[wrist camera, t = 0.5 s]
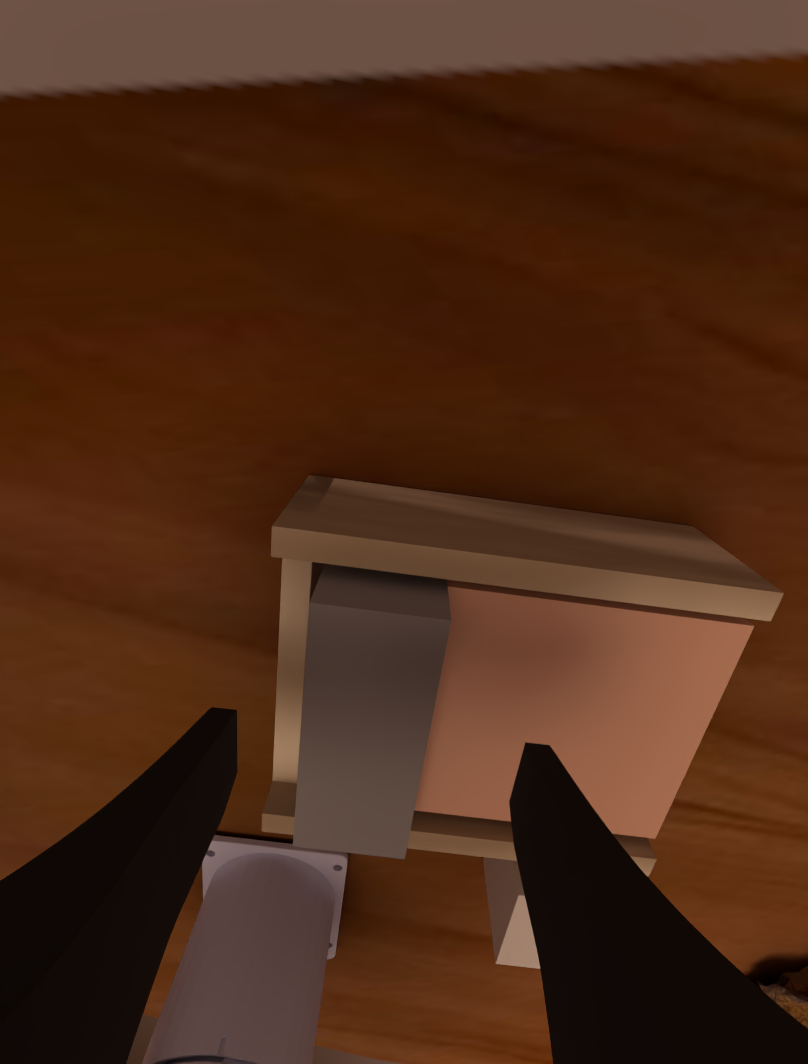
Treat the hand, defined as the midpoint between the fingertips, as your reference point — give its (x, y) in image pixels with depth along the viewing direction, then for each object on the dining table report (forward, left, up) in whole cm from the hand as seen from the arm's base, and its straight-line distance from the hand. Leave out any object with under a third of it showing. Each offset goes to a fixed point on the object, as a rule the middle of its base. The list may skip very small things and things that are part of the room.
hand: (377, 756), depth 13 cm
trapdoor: (-2, -5, -6) cm, 8 cm away
